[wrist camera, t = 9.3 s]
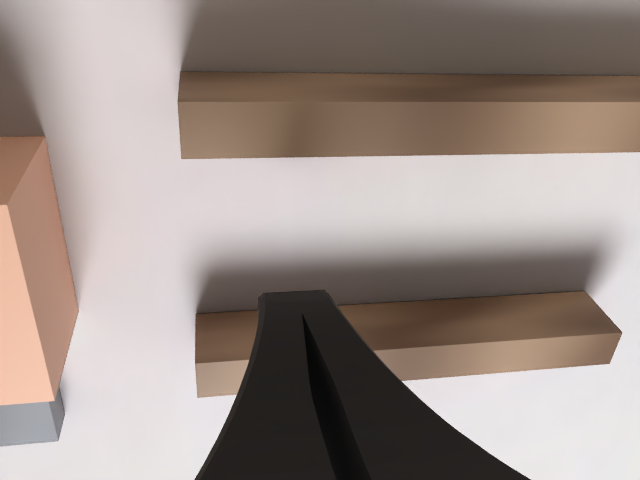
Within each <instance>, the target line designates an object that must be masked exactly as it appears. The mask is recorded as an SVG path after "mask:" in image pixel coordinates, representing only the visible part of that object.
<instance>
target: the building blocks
mask: <svg viewBox="0 0 640 480" xmlns="http://www.w3.org/2000/svg"><path fill="white" fill-rule="evenodd" d="M178 114H179V129H180V144H181V159H214V158H280V157H346V156H412V155H478V154H544V153H610V152H640V76H587V75H479V74H371V73H263V72H180V81H179V92H178ZM338 308H339V309H340V310H341V312H342V313H343V314H344V316H345V317H346V318H347V320H348V321H349V322H350V324H351V325H352V326H353V327H354V329H355V330H356V331H357V332H358V334H359V335H360V336H361V337H362V338H363V340H364V341H365V342H366V343H367V344H368V345H369V347H370V348H371V349H372V350H373V351H374V352H375V353H376V355H377V356H378V357H379V358H380V359H381V360H382V361H383V362H384V364H385V365H386V366H387V367H388V368H389V369H390V370H391V371H392V372H393V373H394V374H395V375H396V376H397V377H398V378H399V379H400V380H401V381H406V380H418V379H430V378H442V377H455V376H467V375H479V374H491V373H503V372H515V371H527V370H539V369H552V368H564V367H576V366H588V365H600V364H610V361H611V359H612V357H613V354H614V352H615V349H616V347H617V345H618V342H619V340H620V337H621V335H622V332H621V330H620V329H619V328H618V327H617V326H616V325H615V324H614V323H613V322H612V320H611V319H610V318H609V317H608V316H607V315H606V314H605V313H604V312H603V310H602V309H601V308H600V307H599V306H598V305H597V304H596V303H595V302H594V300H593V299H592V298H591V297H590V296H589V295H588V294H587V293H586V292H585V291H578V292H561V293H544V294H527V295H510V296H493V297H476V298H459V299H442V300H425V301H408V302H391V303H374V304H357V305H340V306H338ZM257 326H258V310H255V311H238V312H221V313H204V314H196V332H195V368H196V382H197V397H198V398H200V397H212V396H224V395H236V394H237V393H238V391H239V388H240V385H241V382H242V380H243V377H244V374H245V371H246V369H247V366H248V362H249V359H250V355H251V351H252V348H253V344H254V340H255V336H256V331H257ZM64 416H65V413H64V408H63V404H62V400H61V395H60V391H59V387H58V391H57V394H56V398H55V401H49V402H37V403H25V404H12V405H0V446H10V445H21V444H32V443H43V442H54V441H58V440H59V436H60V432H61V428H62V424H63V420H64Z"/></svg>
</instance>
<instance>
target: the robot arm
mask: <svg viewBox="0 0 640 480" xmlns="http://www.w3.org/2000/svg"><path fill="white" fill-rule="evenodd" d="M195 480H530V479H529V478H527V477H526V476H524V475H522V474H521V473H519V472H517V471H516V470H514V469H512V468H511V467H509V466H508V465H506V464H505V463H503V462H501V461H500V460H498V459H497V458H495V457H494V456H492V455H491V454H489V453H488V452H487V451H485V450H484V449H482V448H481V447H480V446H478V445H477V444H475V443H474V442H473V441H471V440H470V439H469V438H467V437H466V436H464V435H463V434H462V433H460V432H459V431H457V430H456V429H455V428H454V427H452V426H451V425H450V424H448V423H447V422H446V421H445V420H443V419H442V418H441V417H440V416H439V415H438V414H436V413H435V412H434V411H433V410H432V409H431V408H429V407H428V406H427V405H426V404H425V403H424V402H423V401H422V400H420V399H419V398H418V397H417V396H416V395H415V394H414V393H413V392H412V391H411V390H410V389H409V388H408V387H407V386H406V385H405V384H404V383H403V382H402V381H401V380H400V379H399V378H398V377H397V376H396V375H395V374H394V373H393V372H392V371H391V370H390V369H389V368H388V367H387V366H386V365H385V364H384V362H383V361H382V360H381V359H380V358H379V357H378V356H377V355H376V353H375V352H374V351H373V350H372V349H371V348H370V347H369V345H368V344H367V343H366V342H365V341H364V340H363V338H362V337H361V336H360V335H359V334H358V332H357V331H356V330H355V329H354V327H353V326H352V325H351V324H350V322H349V321H348V320H347V318H346V317H345V316H344V314H343V313H342V312H341V310H340V309H339V308H338V306H337V305H336V304H335V302H334V301H333V299H332V298H331V296H330V295H329V294H328V293H327V292H326V291H325V290H312V291H292V292H272V293H263V294H262V295H261V296H260V297H259V298H258V326H257V331H256V336H255V340H254V344H253V348H252V351H251V355H250V359H249V362H248V366H247V369H246V371H245V374H244V377H243V380H242V382H241V385H240V388H239V391H238V393H237V396H236V399H235V401H234V403H233V406H232V408H231V411H230V413H229V415H228V417H227V419H226V422H225V424H224V426H223V428H222V430H221V432H220V434H219V436H218V438H217V440H216V442H215V444H214V446H213V448H212V449H211V451H210V453H209V455H208V457H207V459H206V461H205V463H204V464H203V466H202V468H201V470H200V471H199V473H198V475H197V476H196V478H195Z"/></svg>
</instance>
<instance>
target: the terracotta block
mask: <svg viewBox="0 0 640 480" xmlns="http://www.w3.org/2000/svg"><path fill="white" fill-rule="evenodd" d="M78 312H79V310H78V305H77V300H76V295H75V289H74V284H73V279H72V274H71V269H70V263H69V258H68V253H67V248H66V243H65V237H64V232H63V227H62V222H61V217H60V211H59V206H58V201H57V196H56V191H55V185H54V180H53V175H52V170H51V164H50V159H49V154H48V149H47V144H46V138H45V136H19V137H0V405H12V404H25V403H37V402H49V401H55V398H56V394H57V391H58V387H59V383H60V379H61V376H62V372H63V368H64V364H65V361H66V357H67V353H68V349H69V345H70V342H71V338H72V334H73V330H74V327H75V323H76V319H77V315H78Z"/></svg>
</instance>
